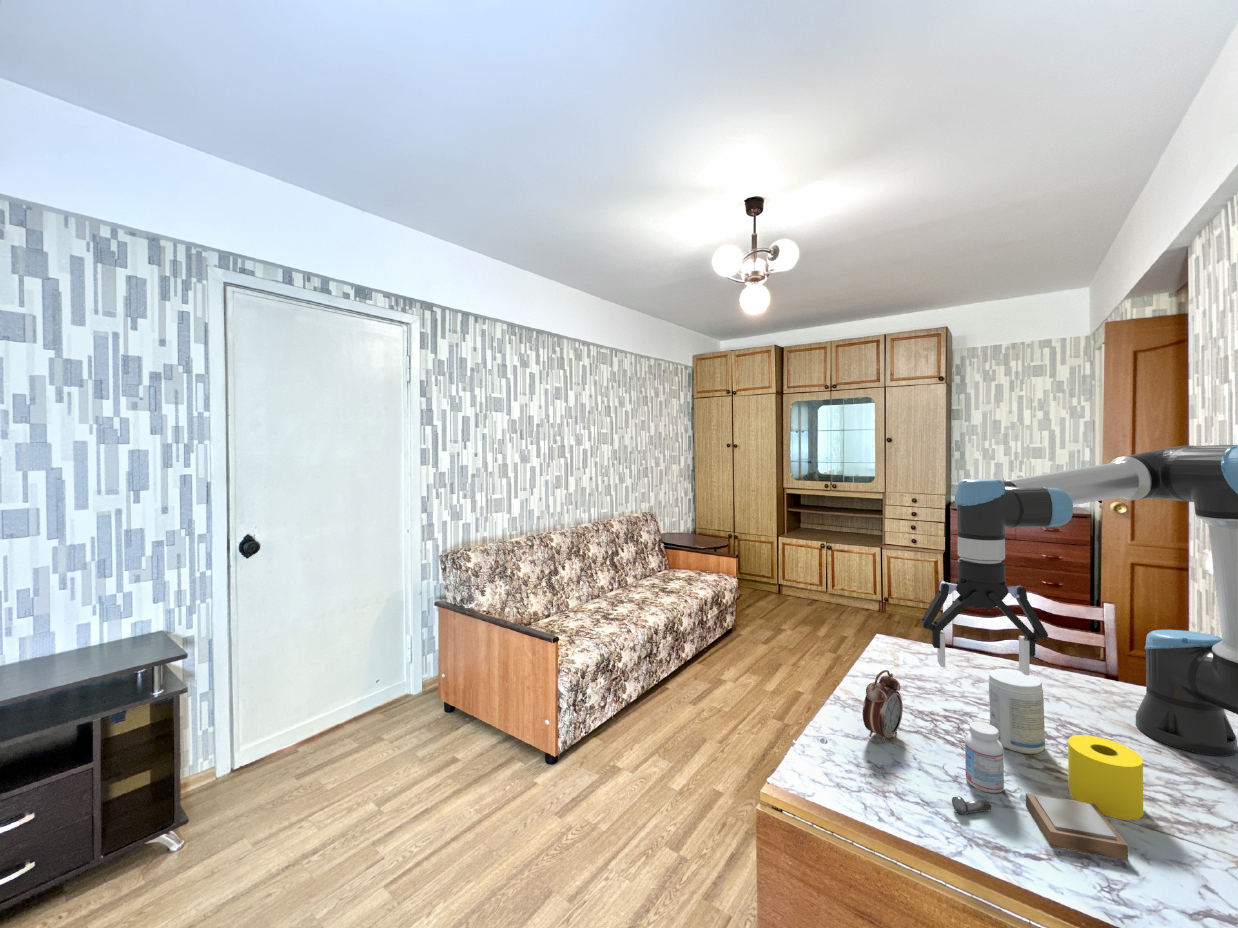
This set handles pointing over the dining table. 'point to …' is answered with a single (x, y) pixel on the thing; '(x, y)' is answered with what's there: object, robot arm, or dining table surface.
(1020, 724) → the supplement tub
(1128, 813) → the yellow toilet paper roll
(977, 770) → the pill bottle
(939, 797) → the dining table surface
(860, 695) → the dining table surface
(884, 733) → the alarm clock
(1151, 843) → the dining table surface
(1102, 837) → the stand
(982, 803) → the loose bolt
